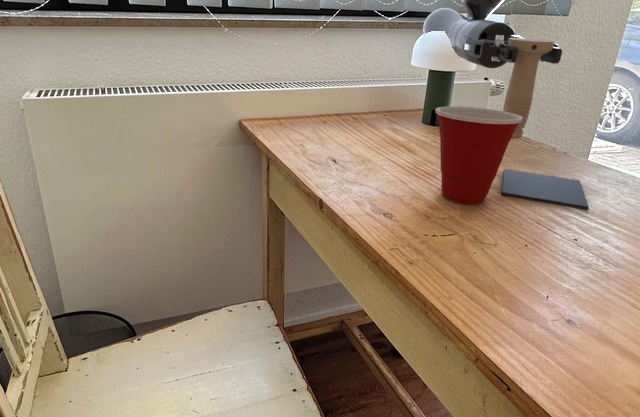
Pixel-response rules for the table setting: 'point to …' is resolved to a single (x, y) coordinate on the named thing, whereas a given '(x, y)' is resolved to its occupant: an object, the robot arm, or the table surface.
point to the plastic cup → (472, 150)
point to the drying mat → (543, 188)
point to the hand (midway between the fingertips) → (536, 55)
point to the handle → (524, 78)
